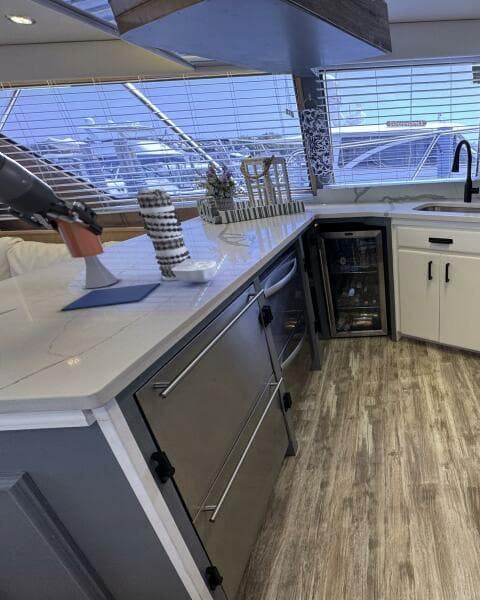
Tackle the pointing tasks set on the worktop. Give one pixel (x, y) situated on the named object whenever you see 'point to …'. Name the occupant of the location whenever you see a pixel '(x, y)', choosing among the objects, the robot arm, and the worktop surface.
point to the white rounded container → (195, 271)
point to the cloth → (112, 296)
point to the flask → (97, 273)
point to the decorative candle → (163, 230)
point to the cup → (79, 239)
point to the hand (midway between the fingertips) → (85, 233)
